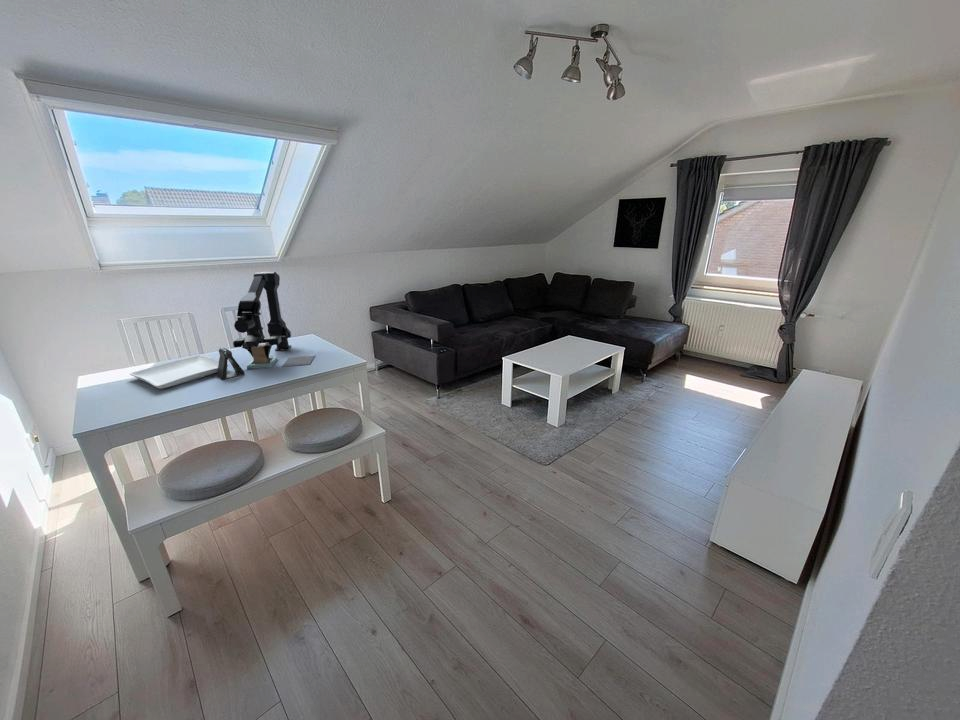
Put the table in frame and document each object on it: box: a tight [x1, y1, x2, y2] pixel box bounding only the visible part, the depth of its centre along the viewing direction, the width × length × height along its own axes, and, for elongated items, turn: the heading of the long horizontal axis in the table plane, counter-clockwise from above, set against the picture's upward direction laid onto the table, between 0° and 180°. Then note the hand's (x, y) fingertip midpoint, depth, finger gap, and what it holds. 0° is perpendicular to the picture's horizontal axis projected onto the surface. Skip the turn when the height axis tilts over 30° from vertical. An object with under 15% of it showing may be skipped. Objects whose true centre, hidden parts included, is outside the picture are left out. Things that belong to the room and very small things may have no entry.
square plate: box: [129, 354, 230, 390], centre depth 161 cm, size 27×27×4 cm
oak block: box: [251, 343, 270, 364], centre depth 172 cm, size 5×5×9 cm
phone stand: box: [216, 347, 246, 381], centre depth 159 cm, size 9×6×12 cm, turn 141°
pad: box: [281, 355, 316, 368], centre depth 177 cm, size 12×12×1 cm
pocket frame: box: [246, 356, 278, 370], centre depth 173 cm, size 10×10×2 cm
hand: (261, 359), depth 173 cm, fingers closed on oak block, 5 cm apart
